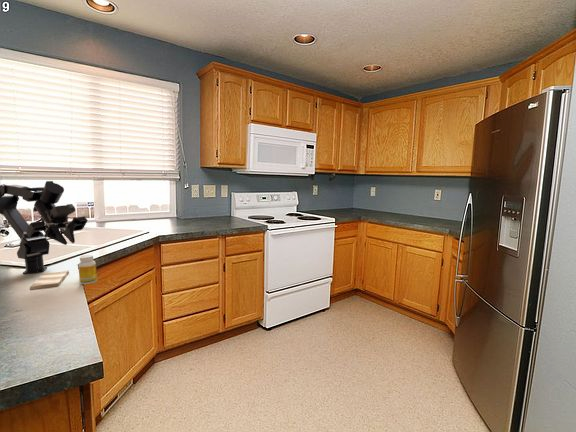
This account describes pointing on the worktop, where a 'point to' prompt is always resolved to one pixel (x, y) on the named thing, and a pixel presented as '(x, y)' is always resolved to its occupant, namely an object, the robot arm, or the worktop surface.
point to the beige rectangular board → (49, 279)
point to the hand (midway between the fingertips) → (70, 243)
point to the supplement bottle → (87, 270)
